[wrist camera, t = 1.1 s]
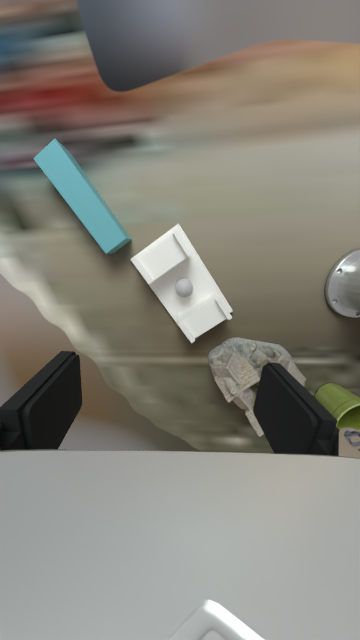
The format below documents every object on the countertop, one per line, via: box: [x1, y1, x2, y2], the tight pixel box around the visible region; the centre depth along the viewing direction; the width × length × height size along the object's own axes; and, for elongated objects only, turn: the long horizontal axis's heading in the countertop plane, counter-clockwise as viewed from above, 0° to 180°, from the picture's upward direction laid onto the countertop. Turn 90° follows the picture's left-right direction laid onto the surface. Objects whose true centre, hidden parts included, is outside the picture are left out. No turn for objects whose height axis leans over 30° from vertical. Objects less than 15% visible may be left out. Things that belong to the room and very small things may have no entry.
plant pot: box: [314, 383, 360, 430], centre depth 42 cm, size 9×9×9 cm
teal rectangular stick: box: [34, 139, 132, 254], centre depth 32 cm, size 4×15×4 cm, turn 34°
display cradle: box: [130, 224, 233, 343], centre depth 36 cm, size 10×18×6 cm, turn 34°
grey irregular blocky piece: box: [208, 338, 306, 437], centre depth 37 cm, size 16×16×15 cm
